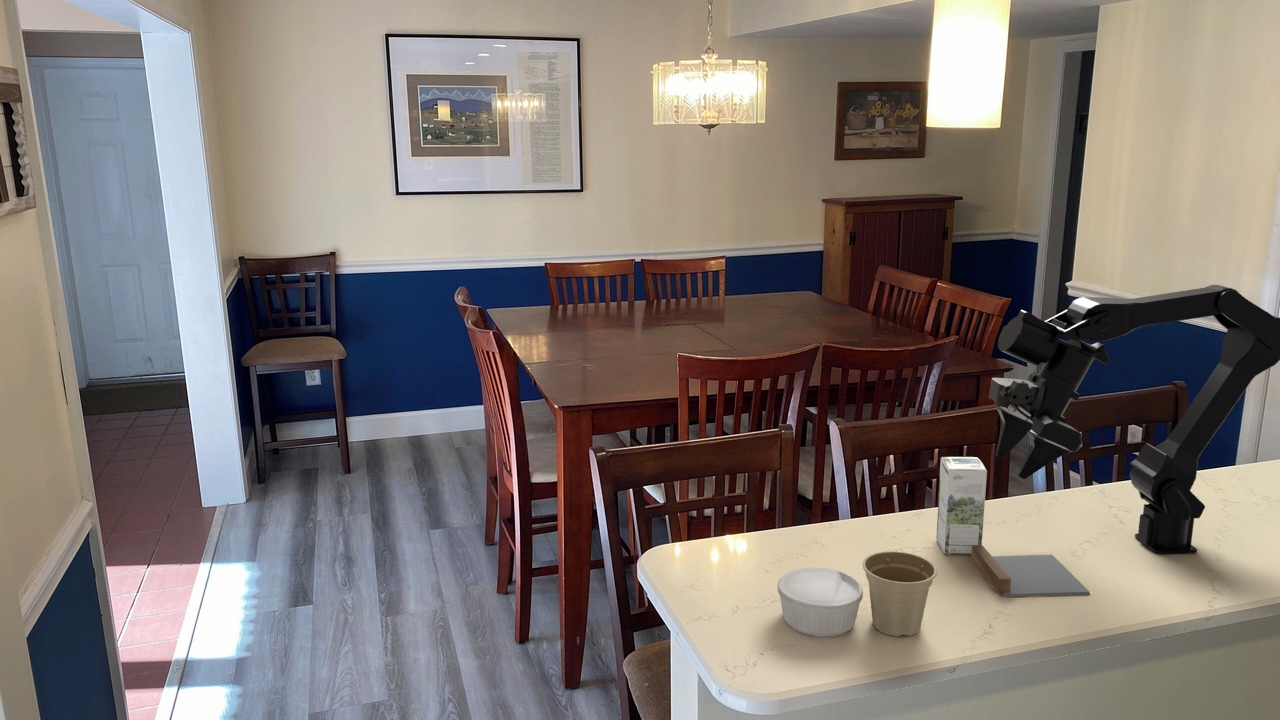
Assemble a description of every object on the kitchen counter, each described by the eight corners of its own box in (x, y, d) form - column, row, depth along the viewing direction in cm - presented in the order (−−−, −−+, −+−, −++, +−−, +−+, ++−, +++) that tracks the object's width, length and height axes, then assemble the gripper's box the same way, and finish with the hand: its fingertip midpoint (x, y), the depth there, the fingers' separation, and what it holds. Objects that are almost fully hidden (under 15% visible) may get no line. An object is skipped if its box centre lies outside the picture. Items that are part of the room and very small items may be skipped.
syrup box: (972, 540, 147) (977, 455, 143) (982, 556, 141) (987, 468, 138) (935, 540, 147) (940, 454, 144) (944, 556, 142) (948, 467, 138)
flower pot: (935, 613, 125) (938, 555, 123) (932, 649, 116) (936, 587, 114) (864, 604, 128) (866, 547, 126) (857, 638, 119) (859, 577, 117)
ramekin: (877, 634, 120) (878, 597, 119) (800, 649, 117) (800, 611, 116) (836, 595, 131) (837, 561, 129) (764, 608, 128) (764, 573, 126)
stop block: (981, 560, 140) (982, 545, 139) (1009, 594, 129) (1011, 578, 128) (971, 560, 140) (971, 545, 139) (998, 595, 129) (999, 578, 128)
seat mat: (1052, 556, 140) (1052, 554, 140) (1089, 594, 128) (1089, 591, 128) (973, 559, 140) (974, 556, 140) (1004, 596, 129) (1004, 594, 128)
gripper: (990, 343, 146) (944, 428, 149) (1037, 371, 127) (984, 468, 131) (1052, 370, 146) (1004, 454, 150) (1107, 402, 128) (1052, 497, 132)
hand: (1009, 467), depth 140 cm, fingers open, 9 cm apart
